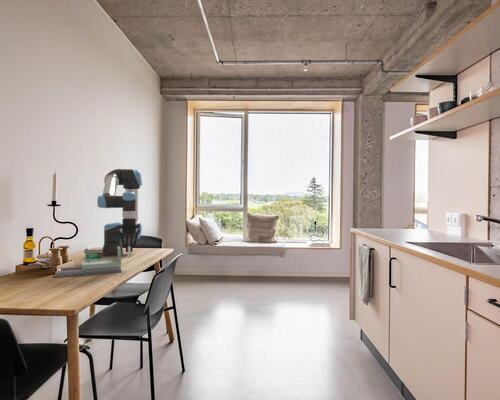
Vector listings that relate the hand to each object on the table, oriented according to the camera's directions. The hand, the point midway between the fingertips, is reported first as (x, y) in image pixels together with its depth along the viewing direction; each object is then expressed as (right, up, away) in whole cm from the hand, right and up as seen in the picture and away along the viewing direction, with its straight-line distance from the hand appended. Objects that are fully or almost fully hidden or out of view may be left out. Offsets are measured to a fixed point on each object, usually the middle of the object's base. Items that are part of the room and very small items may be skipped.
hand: (129, 257), depth 203 cm
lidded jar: (-50, -7, +1) cm, 50 cm away
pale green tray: (-14, -4, -6) cm, 16 cm away
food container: (-27, -7, +9) cm, 29 cm away
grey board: (-20, -7, -9) cm, 23 cm away
